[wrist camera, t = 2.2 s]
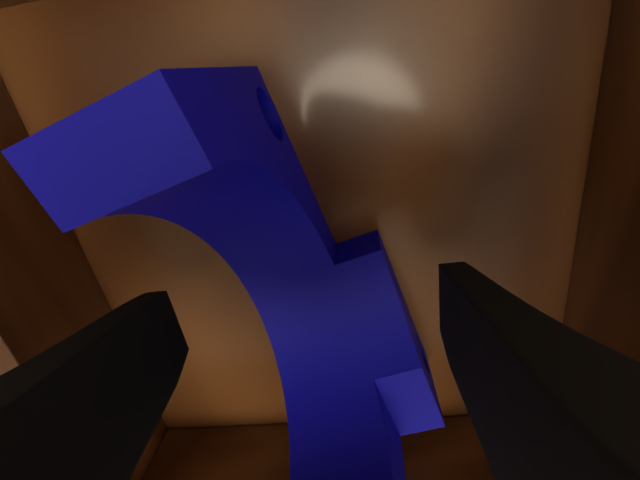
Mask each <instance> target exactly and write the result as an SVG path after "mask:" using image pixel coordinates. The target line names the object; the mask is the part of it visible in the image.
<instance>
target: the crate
mask: <svg viewBox="0 0 640 480" xmlns="http://www.w3.org/2000/svg"><path fill="white" fill-rule="evenodd" d="M238 66H257V67H258V69H259V71H260V73H261V76H262V78H263V80H264V82H265V85H266V87H267V89H268V91H269V94H270V96H271V98H272V101H273V103H274V105H275V107H276V110H277V112H278V114H279V116H280V119H281V121H282V123H283V125H284V128H285V130H286V132H287V134H288V137H289V139H290V141H291V143H292V146H293V148H294V150H295V153H296V155H297V157H298V159H299V162H300V164H301V166H302V168H303V171H304V173H305V175H306V177H307V180H308V182H309V184H310V186H311V189H312V191H313V193H314V195H315V198H316V200H317V202H318V205H319V207H320V209H321V211H322V214H323V216H324V218H325V220H326V223H327V225H328V227H329V229H330V232H331V234H332V236H333V238H334V241H335V243H336V244H337V243H340V242H343V241H346V240H349V239H352V238H354V237H357V236H360V235H363V234H366V233H369V232H372V231H375V230H378V232H379V234H380V237H381V240H382V242H383V245H384V247H385V250H386V253H387V255H388V258H389V260H390V263H391V266H392V268H393V271H394V273H395V276H396V279H397V281H398V284H399V286H400V289H401V291H402V294H403V297H404V299H405V302H406V304H407V307H408V310H409V312H410V315H411V317H412V320H413V323H414V325H415V328H416V330H417V333H418V336H419V338H420V341H421V343H422V346H423V348H424V351H425V354H426V356H427V359H428V362H429V366H430V370H431V374H432V378H433V381H434V385H435V389H436V393H437V397H438V400H439V404H440V408H441V412H442V415H443V419H444V423H445V427H441V428H436V429H432V430H427V431H422V432H417V433H412V434H408V435H403V436H400V438H401V445H402V452H403V460H404V467H405V474H406V480H494V479H493V475H492V473H491V470H490V467H489V464H488V461H487V459H486V456H485V453H484V451H483V448H482V446H481V443H480V441H479V438H478V436H477V433H476V431H475V429H474V426H473V424H472V421H471V419H470V416H469V414H468V411H467V409H466V406H465V404H464V401H463V399H462V397H461V394H460V392H459V389H458V387H457V384H456V382H455V379H454V377H453V374H452V371H451V369H450V366H449V363H448V359H447V356H446V352H445V348H444V344H443V340H442V337H441V333H440V315H439V266H438V264H443V263H453V262H463V261H464V262H466V263H467V264H469V265H471V266H472V267H474V268H475V269H477V270H478V271H480V272H481V273H482V274H484V275H485V276H487V277H488V278H490V279H491V280H493V281H494V282H496V283H497V284H499V285H500V286H502V287H503V288H505V289H506V290H508V291H509V292H511V293H512V294H514V295H515V296H517V297H519V298H520V299H522V300H523V301H525V302H527V303H528V304H530V305H531V306H533V307H535V308H536V309H538V310H540V311H541V312H543V313H545V314H547V315H548V316H550V317H552V318H554V319H555V320H557V321H559V322H561V323H562V324H564V325H566V326H568V327H570V328H571V329H573V330H575V331H577V332H579V333H581V334H583V335H585V336H587V337H589V338H591V339H593V340H595V341H597V342H599V343H601V344H603V345H605V346H607V347H609V348H612V349H614V350H616V351H618V352H620V353H622V354H624V355H626V356H628V357H630V358H633V359H635V360H637V361H639V362H640V0H0V375H2V374H4V373H6V372H8V371H9V370H11V369H13V368H15V367H17V366H19V365H20V364H22V363H24V362H26V361H27V360H29V359H31V358H33V357H34V356H36V355H38V354H40V353H41V352H43V351H45V350H46V349H48V348H50V347H52V346H53V345H55V344H57V343H59V342H60V341H62V340H64V339H66V338H67V337H69V336H71V335H72V334H74V333H76V332H77V331H79V330H80V329H82V328H84V327H85V326H87V325H89V324H90V323H92V322H94V321H95V320H97V319H99V318H100V317H102V316H104V315H105V314H107V313H109V312H110V311H112V310H114V309H115V308H117V307H119V306H121V305H122V304H124V303H126V302H128V301H129V300H131V299H133V298H135V297H137V296H139V295H141V294H144V293H146V292H156V291H166V290H167V293H168V296H169V298H170V301H171V303H172V306H173V309H174V311H175V314H176V316H177V319H178V321H179V324H180V327H181V329H182V332H183V334H184V337H185V340H186V342H187V345H188V347H189V351H188V354H187V357H186V361H185V364H184V367H183V370H182V373H181V375H180V378H179V381H178V384H177V386H176V388H175V390H174V392H173V394H172V396H171V398H170V400H169V402H168V404H167V406H166V408H165V410H164V412H163V414H162V416H161V418H160V420H159V422H158V424H157V426H156V428H155V430H154V432H153V434H152V436H151V438H150V440H149V442H148V444H147V446H146V448H145V450H144V452H143V454H142V456H141V458H140V460H139V462H138V464H137V466H136V468H135V470H134V472H133V474H132V476H131V479H130V480H290V448H289V431H288V421H287V412H286V405H285V398H284V393H283V387H282V382H281V378H280V373H279V369H278V365H277V362H276V358H275V355H274V351H273V348H272V345H271V342H270V339H269V336H268V334H267V331H266V329H265V326H264V324H263V321H262V319H261V317H260V315H259V312H258V310H257V308H256V306H255V304H254V302H253V300H252V299H251V297H250V295H249V293H248V292H247V290H246V288H245V287H244V285H243V284H242V282H241V281H240V279H239V278H238V276H237V275H236V274H235V272H234V271H233V270H232V268H231V267H230V266H229V265H228V264H227V262H226V261H225V260H224V259H223V258H222V257H221V256H220V255H219V254H218V253H217V252H216V251H215V250H214V249H213V248H212V247H211V246H210V245H209V244H207V243H206V242H205V241H204V240H202V239H201V238H200V237H198V236H197V235H195V234H194V233H192V232H191V231H189V230H187V229H185V228H183V227H182V226H180V225H178V224H175V223H173V222H170V221H168V220H165V219H161V218H157V217H153V216H149V215H140V214H118V215H112V216H106V217H101V218H98V219H95V220H93V221H91V222H88V223H86V224H84V225H81V226H79V227H77V228H74V229H72V230H70V231H67V232H65V233H62V231H61V230H60V229H59V227H58V226H57V225H56V223H55V222H54V221H53V219H52V218H51V217H50V216H49V214H48V213H47V212H46V210H45V209H44V208H43V206H42V205H41V204H40V202H39V201H38V200H37V198H36V197H35V196H34V194H33V193H32V192H31V191H30V189H29V188H28V187H27V185H26V184H25V183H24V181H23V180H22V179H21V177H20V176H19V175H18V173H17V172H16V171H15V169H14V168H13V167H12V166H11V164H10V163H9V162H8V160H7V159H6V158H5V156H4V155H3V154H2V152H1V151H2V150H4V149H6V148H8V147H10V146H12V145H14V144H16V143H18V142H20V141H22V140H24V139H25V138H27V137H29V136H31V135H33V134H35V133H37V132H39V131H41V130H43V129H45V128H47V127H49V126H50V125H52V124H54V123H56V122H58V121H60V120H62V119H64V118H66V117H68V116H70V115H72V114H74V113H75V112H77V111H79V110H81V109H83V108H85V107H87V106H89V105H91V104H93V103H95V102H97V101H99V100H100V99H102V98H104V97H106V96H108V95H110V94H112V93H114V92H116V91H118V90H120V89H122V88H124V87H125V86H127V85H129V84H131V83H133V82H135V81H137V80H139V79H141V78H143V77H145V76H147V75H148V74H150V73H152V72H154V71H156V70H158V69H176V68H207V67H238Z"/></svg>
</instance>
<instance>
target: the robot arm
mask: <svg viewBox="0 0 640 480" xmlns="http://www.w3.org/2000/svg"><path fill="white" fill-rule="evenodd" d="M438 266H439V315H440V333H441V337H442V340H443V344H444V348H445V352H446V356H447V359H448V363H449V366H450V369H451V371H452V374H453V377H454V379H455V382H456V384H457V387H458V389H459V392H460V394H461V397H462V399H463V401H464V404H465V406H466V409H467V411H468V414H469V416H470V419H471V421H472V424H473V426H474V429H475V431H476V433H477V436H478V438H479V441H480V443H481V446H482V448H483V451H484V453H485V456H486V459H487V461H488V464H489V467H490V470H491V473H492V475H493V479H494V480H640V362H639V361H637V360H635V359H633V358H630V357H628V356H626V355H624V354H622V353H620V352H618V351H616V350H614V349H612V348H609V347H607V346H605V345H603V344H601V343H599V342H597V341H595V340H593V339H591V338H589V337H587V336H585V335H583V334H581V333H579V332H577V331H575V330H573V329H571V328H570V327H568V326H566V325H564V324H562V323H561V322H559V321H557V320H555V319H554V318H552V317H550V316H548V315H547V314H545V313H543V312H541V311H540V310H538V309H536V308H535V307H533V306H531V305H530V304H528V303H527V302H525V301H523V300H522V299H520V298H519V297H517V296H515V295H514V294H512V293H511V292H509V291H508V290H506V289H505V288H503V287H502V286H500V285H499V284H497V283H496V282H494V281H493V280H491V279H490V278H488V277H487V276H485V275H484V274H482V273H481V272H480V271H478V270H477V269H475V268H474V267H472V266H471V265H469V264H467V263H466V262H464V261H463V262H453V263H443V264H438ZM188 351H189V347H188V345H187V342H186V340H185V337H184V334H183V332H182V329H181V327H180V324H179V321H178V319H177V316H176V314H175V311H174V309H173V306H172V303H171V301H170V298H169V296H168V293H167V290H166V291H156V292H146V293H144V294H141V295H139V296H137V297H135V298H133V299H131V300H129V301H128V302H126V303H124V304H122V305H121V306H119V307H117V308H115V309H114V310H112V311H110V312H109V313H107V314H105V315H104V316H102V317H100V318H99V319H97V320H95V321H94V322H92V323H90V324H89V325H87V326H85V327H84V328H82V329H80V330H79V331H77V332H76V333H74V334H72V335H71V336H69V337H67V338H66V339H64V340H62V341H60V342H59V343H57V344H55V345H53V346H52V347H50V348H48V349H46V350H45V351H43V352H41V353H40V354H38V355H36V356H34V357H33V358H31V359H29V360H27V361H26V362H24V363H22V364H20V365H19V366H17V367H15V368H13V369H11V370H9V371H8V372H6V373H4V374H2V375H0V480H130V479H131V476H132V474H133V472H134V470H135V468H136V466H137V464H138V462H139V460H140V458H141V456H142V454H143V452H144V450H145V448H146V446H147V444H148V442H149V440H150V438H151V436H152V434H153V432H154V430H155V428H156V426H157V424H158V422H159V420H160V418H161V416H162V414H163V412H164V410H165V408H166V406H167V404H168V402H169V400H170V398H171V396H172V394H173V392H174V390H175V388H176V386H177V384H178V381H179V378H180V375H181V373H182V370H183V367H184V364H185V361H186V357H187V354H188Z"/></svg>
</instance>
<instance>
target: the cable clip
mask: <svg viewBox="0 0 640 480" xmlns="http://www.w3.org/2000/svg"><path fill="white" fill-rule="evenodd" d="M1 152H2V154H3V155H4V156H5V158H6V159H7V160H8V162H9V163H10V164H11V166H12V167H13V168H14V169H15V171H16V172H17V173H18V175H19V176H20V177H21V179H22V180H23V181H24V183H25V184H26V185H27V187H28V188H29V189H30V191H31V192H32V193H33V194H34V196H35V197H36V198H37V200H38V201H39V202H40V204H41V205H42V206H43V208H44V209H45V210H46V212H47V213H48V214H49V216H50V217H51V218H52V219H53V221H54V222H55V223H56V225H57V226H58V227H59V229H60V230H61V231H62V233H65V232H67V231H70V230H72V229H74V228H77V227H79V226H81V225H84V224H86V223H88V222H91V221H93V220H95V219H98V218H101V217H106V216H112V215H118V214H140V215H149V216H153V217H157V218H161V219H165V220H168V221H170V222H173V223H175V224H178V225H180V226H182V227H183V228H185V229H187V230H189V231H191V232H192V233H194V234H195V235H197V236H198V237H200V238H201V239H202V240H204V241H205V242H206V243H207V244H209V245H210V246H211V247H212V248H213V249H214V250H215V251H216V252H217V253H218V254H219V255H220V256H221V257H222V258H223V259H224V260H225V261H226V262H227V264H228V265H229V266H230V267H231V268H232V270H233V271H234V272H235V274H236V275H237V276H238V278H239V279H240V281H241V282H242V284H243V285H244V287H245V288H246V290H247V292H248V293H249V295H250V297H251V299H252V300H253V302H254V304H255V306H256V308H257V310H258V312H259V315H260V317H261V319H262V321H263V324H264V326H265V329H266V331H267V334H268V336H269V339H270V342H271V345H272V348H273V351H274V355H275V358H276V362H277V365H278V369H279V373H280V378H281V382H282V387H283V393H284V398H285V405H286V412H287V421H288V431H289V448H290V480H406V474H405V467H404V460H403V452H402V445H401V438H400V436H403V435H408V434H412V433H417V432H422V431H427V430H432V429H436V428H441V427H445V423H444V419H443V415H442V412H441V408H440V404H439V400H438V397H437V393H436V389H435V385H434V381H433V378H432V374H431V370H430V366H429V362H428V359H427V356H426V354H425V351H424V348H423V346H422V343H421V341H420V338H419V336H418V333H417V330H416V328H415V325H414V323H413V320H412V317H411V315H410V312H409V310H408V307H407V304H406V302H405V299H404V297H403V294H402V291H401V289H400V286H399V284H398V281H397V279H396V276H395V273H394V271H393V268H392V266H391V263H390V260H389V258H388V255H387V253H386V250H385V247H384V245H383V242H382V240H381V237H380V234H379V232H378V230H375V231H372V232H369V233H366V234H363V235H360V236H357V237H354V238H352V239H349V240H346V241H343V242H340V243H337V244H336V243H335V241H334V238H333V236H332V234H331V232H330V229H329V227H328V225H327V223H326V220H325V218H324V216H323V214H322V211H321V209H320V207H319V205H318V202H317V200H316V198H315V195H314V193H313V191H312V189H311V186H310V184H309V182H308V180H307V177H306V175H305V173H304V171H303V168H302V166H301V164H300V162H299V159H298V157H297V155H296V153H295V150H294V148H293V146H292V143H291V141H290V139H289V137H288V134H287V132H286V130H285V128H284V125H283V123H282V121H281V119H280V116H279V114H278V112H277V110H276V107H275V105H274V103H273V101H272V98H271V96H270V94H269V91H268V89H267V87H266V85H265V82H264V80H263V78H262V76H261V73H260V71H259V69H258V67H257V66H238V67H207V68H176V69H158V70H156V71H154V72H152V73H150V74H148V75H147V76H145V77H143V78H141V79H139V80H137V81H135V82H133V83H131V84H129V85H127V86H125V87H124V88H122V89H120V90H118V91H116V92H114V93H112V94H110V95H108V96H106V97H104V98H102V99H100V100H99V101H97V102H95V103H93V104H91V105H89V106H87V107H85V108H83V109H81V110H79V111H77V112H75V113H74V114H72V115H70V116H68V117H66V118H64V119H62V120H60V121H58V122H56V123H54V124H52V125H50V126H49V127H47V128H45V129H43V130H41V131H39V132H37V133H35V134H33V135H31V136H29V137H27V138H25V139H24V140H22V141H20V142H18V143H16V144H14V145H12V146H10V147H8V148H6V149H4V150H2V151H1Z"/></svg>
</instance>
